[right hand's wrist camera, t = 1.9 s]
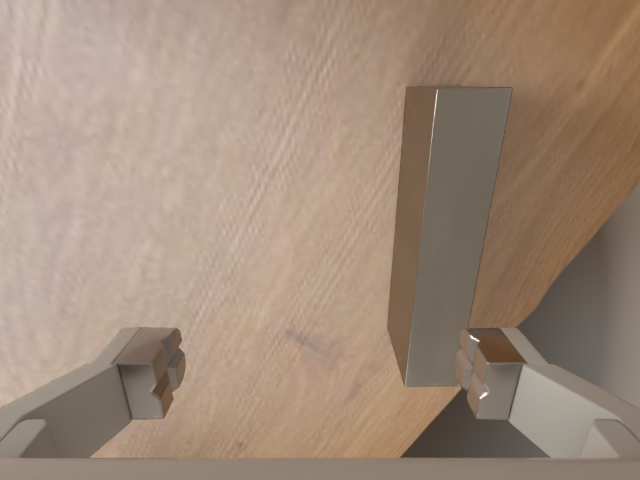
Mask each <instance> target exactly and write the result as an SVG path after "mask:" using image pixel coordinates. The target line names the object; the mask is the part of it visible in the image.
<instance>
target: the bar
mask: <svg viewBox="0 0 640 480" xmlns="http://www.w3.org/2000/svg"><path fill="white" fill-rule="evenodd" d="M511 94H512V87H471V86H445V87H406V97H405V110H404V122H403V135H402V148H401V161H400V173H399V186H398V199H397V212H396V224H395V237H394V250H393V263H392V275H391V288H390V301H389V314H388V326H387V328H388V332H389V335H390V339H391V342H392V346H393V349H394V353H395V356H396V359H397V363H398V366H399V370H400V373H401V377H402V380H403V384H404V386H405V387H431V386H457V385H458V380H457V377H456V373H455V356H456V353H457V352H458V351H459V350H460V349H461V348H462V347H461V345H460V343H459V341H458V338H459V333H460V331H461V329H463V328H468V326H469V320H470V315H471V310H472V304H473V299H474V293H475V288H476V283H477V277H478V272H479V267H480V261H481V256H482V250H483V245H484V240H485V234H486V229H487V223H488V218H489V213H490V207H491V202H492V197H493V191H494V186H495V180H496V175H497V170H498V164H499V159H500V154H501V148H502V143H503V137H504V132H505V127H506V121H507V116H508V110H509V105H510V100H511Z"/></svg>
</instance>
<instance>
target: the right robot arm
mask: <svg viewBox="0 0 640 480" xmlns="http://www.w3.org/2000/svg"><path fill="white" fill-rule="evenodd" d="M181 341H182V338H181V333H180V330H179V329H177V328H149V327H143V328H142V327H126V328H123V329H121V330H120V332H119V333H118V334H117V335H116V336H115V337H114V339H113V340H112V341H111V342H110V343H109V344H108V345H107V347H106V348H105V349H104V350H103V351H102V352H101V354H100V355H99V356H98V357H97V358H96V359H95V361H94V362H93V363H92V364H85V365H83V366H81V367H79V368H77V369H75V370H74V371H72V372H70V373H68V374H66V375H64V376H62V377H60V378H58V379H56V380H54V381H52V382H50V383H48V384H46V385H44V386H42V387H40V388H38V389H36V390H35V391H33V392H31V393H29V394H27V395H25V396H23V397H21V398H19V399H17V400H15V401H13V402H11V403H9V404H7V405H5V406H3V407H1V408H0V480H640V408H638V407H636V406H635V405H633V404H631V403H629V402H627V401H625V400H623V399H621V398H619V397H617V396H615V395H613V394H611V393H609V392H607V391H605V390H603V389H601V388H600V387H598V386H596V385H594V384H592V383H590V382H588V381H586V380H584V379H582V378H580V377H578V376H576V375H574V374H572V373H570V372H568V371H566V370H565V369H563V368H561V367H559V366H557V365H555V364H548V363H547V362H546V360H545V359H544V358H543V357H542V356H541V355H540V354H539V352H538V351H537V350H536V349H535V348H534V347H533V345H532V344H531V343H530V342H529V341H528V340H527V339H526V337H525V336H524V335H523V334H522V333H521V332H520V330H519V329H517V328H515V327H501V328H463V329H461V331H460V333H459V338H458V341H459V343H460V345H461V347H462V348H461V349H460V350H459V351H458V352H457V353H456V356H455V373H456V377H457V380H458V382H459V384H460V387H462V388H463V389H464V390H466V391H467V392H468V394H467V401H468V403H469V405H470V407H471V409H472V411H473V413H474V415H475V417H476V419H499V420H509V422H510V423H511V424H512V425H513V426H515V427H516V428H517V429H518V430H519V431H520V432H522V433H523V434H524V435H525V436H526V437H527V438H529V439H530V440H531V441H532V442H533V443H535V444H536V445H537V446H538V447H539V448H540V449H542V450H543V451H544V452H545V453H546V454H547V455H549V456H550V457H551V458H89V457H90V456H92V455H93V454H94V453H95V452H96V451H97V450H99V449H100V448H101V447H102V446H103V445H104V444H106V443H107V442H108V441H109V440H110V439H111V438H113V437H114V436H115V435H116V434H117V433H119V432H120V431H121V430H122V429H123V428H124V427H126V426H127V425H128V424H129V423H130V422H131V420H140V419H164V417H165V415H166V413H167V411H168V409H169V407H170V405H171V403H172V401H173V394H172V392H173V391H174V390H176V389H177V388H178V387H180V384H181V382H182V380H183V377H184V372H185V355H184V353H183V352H182V351H181V350H180V349H179V348H178V347H179V345H180V343H181Z"/></svg>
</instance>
